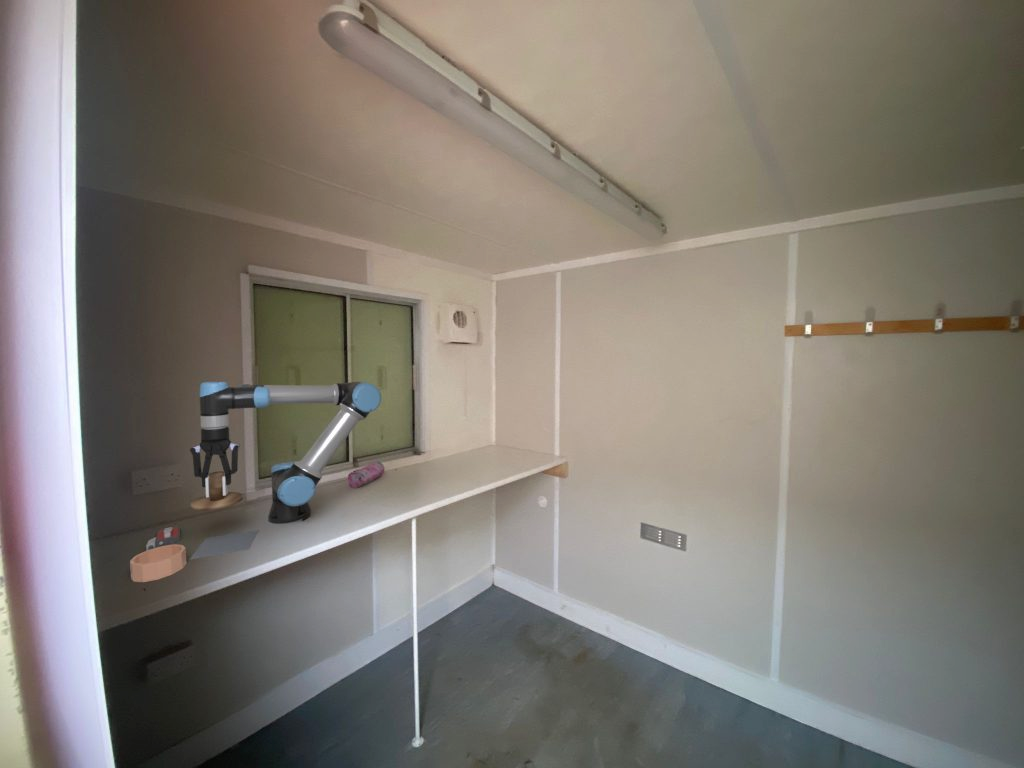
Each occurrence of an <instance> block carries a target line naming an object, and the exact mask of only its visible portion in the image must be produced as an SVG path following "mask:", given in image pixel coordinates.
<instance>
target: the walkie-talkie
mask: <svg viewBox="0 0 1024 768" xmlns="http://www.w3.org/2000/svg"><path fill="white" fill-rule="evenodd" d="M181 537H182V534H181V526H178V525H175V526H171V527H165V528H161V529H159V530H158V531H156V533H155V536H154V537H153V538H151V539H149V540H148V541H147V543H146V545H145V548H146V551H147V550H150V549H153V548H156V547H160V546H164V545H171V544H175V543H177V542H179V541H181V539H182V538H181Z"/></svg>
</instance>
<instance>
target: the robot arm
mask: <svg viewBox="0 0 1024 768" xmlns="http://www.w3.org/2000/svg"><path fill="white" fill-rule="evenodd" d="M381 402H382V395H381V391H380V389H379V388H378V387H377V386H376V385H374V384H373V383H370V382H362V381H352V382H340V383H338V382H336V383H333V384H332V385H310V384H308V385H306V384H305V385H300V384H299V385H298V384H297V385H295V384H294V385H289V384H283V385H282V384H281V385H280V384H261V385H260V384H249V383H248V384H240V385H239V386H238V387H233V386H232V387H231V386H230V387H229V384H228V382H227V381H204V382H202V383H200V385H199V407H200V408H199V409H200V410H199V412H200V413H199V415H200V416H199V417H200V427H201V429H200V443H199V445H197V446H193V447H191V448H189V451H190V453H191V455H192V460H193V461H192V462H193V463H192V465H193V474H194V475H193V476H194V477H195V478H201V486H202V488H205V496H206V497H209V496H210V487H209V474H210V468H211V463H212V458H213V457H214V456H218V457H219V459H220V461H221V462H220V463H221V466H222V469H223V472H224V476H223V477H222V482H223V496H225V495H227V493H228V492H229V486H230V485H231V483H232V475H234V474H236V473H237V472H238V468H239V467H238V466H239V464H238V463H239V460H238V459H239V458H238V457H239V449H240V446H241V444H240V443H237V444H236V443H232V441H231V439H230V427H229V425H230V414H229V410H235V409H236V410H237V409H255V408H256V409H260V408H268V407H269V405H295V404H296V405H300V404H301V405H302V404H305V405H306V404H309V405H310V404H333V405H334V406H339V407H340V409H339V410H338V412H337V413H336V414H335V415H334V417H333V418H332V419H331V421H330V422H329V424H328V425H327V426H326V427H325V428H324V430H323V431H322V432H321V434H320V435H318V436H319V437H317V439H316V440H315V441H314V443H313V445H312V446H311V447H310V448H309V449H308V450H307V452H306V454H305V455H304V456H303V457H302V458H301V459H300V460H298V461H295V460H294V461H287V462H281V463H275V464H274V465H272V466H271V469H270V470H271V471H270V474H271V492H272V493H271V495H272V498H271V499H272V502H271V503H272V504H271V505H270V506H271V507H270V509H269V513H268V517H267V521H268V522H269V523H271V524H277V525H278V524H279V525H282V524H289V523H295V522H298V521H301V522H303V521H305V520H307V519H309V518H310V516H311V514H312V509H311V506H310V504H309V501H310V500H312V499H313V497H314V495H315V493H316V489H317V488H316V487H317V485H318V483H319V482H320V481H321V480H322V478H323V476H322V472H323V470H324V469H325V467H326V466H327V465H328V463H329V462H330V461H331V459H332V458H333V456H334V455H335V454H336V453H337V451H338V449H340V447H341V446H342V444H343V443H344V442H345V440H346V439H347V437H348V436H349V435H350V434H351V432H352V431H353V429H354V428H355V426H356V425H357V424H358V423H359V422H360V421H363V420H365V419H366V418H367V417H368V416H369V414H370V413H372V412H374V411H376V410H377V409H378V408H379V406H380V404H381ZM229 448H230V450H231V463H229V460H228V456H227V450H228V449H229ZM201 450H202V451H203V452H204V453H205V455H204V462H203V466H202V463H201V453H200V452H201ZM230 464H231V467H230Z"/></svg>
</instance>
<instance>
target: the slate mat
mask: <svg viewBox="0 0 1024 768" xmlns="http://www.w3.org/2000/svg"><path fill="white" fill-rule="evenodd" d="M258 533H259V529H256V530H247V531H242V532H236V533H227V534H224V535H223V534H222V535H217V536H215V535H214V536H210V537H206V538H205V539H204V540H203V541H202V543H201V544H200V545H199V547H198V548H197V549H196V550H195V552H194V553H193V554H192V555H191V557H190V558H189V559H188V560H189V561H191V560H194V559H201V558H208V557H212V556H219V555H224V554H231V553H236V552H242V551H248V550H250V548H251V547H252V544H253V542H254V540H255V538H256V537H257V534H258Z"/></svg>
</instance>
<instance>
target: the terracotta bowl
mask: <svg viewBox="0 0 1024 768" xmlns="http://www.w3.org/2000/svg"><path fill="white" fill-rule="evenodd" d="M186 564H187V549H186V547H185V546H184V545H183V544H175V543H172V544H165V545H159V546H156V547H154V548H153V549H150V550H147V549H146V550H145V551H143V552H141V553H138V554H136V555H134V557H132V558H131V559H130V560H129V568H130V579H131V580H132V582H135V583H145V582H146V583H147V582H151V581H158V580H161V579H164V578H166V577H168V576H172V575H174V574H176V573H177V572H179V571H181V570H182V569H184V567H185V566H186Z"/></svg>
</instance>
